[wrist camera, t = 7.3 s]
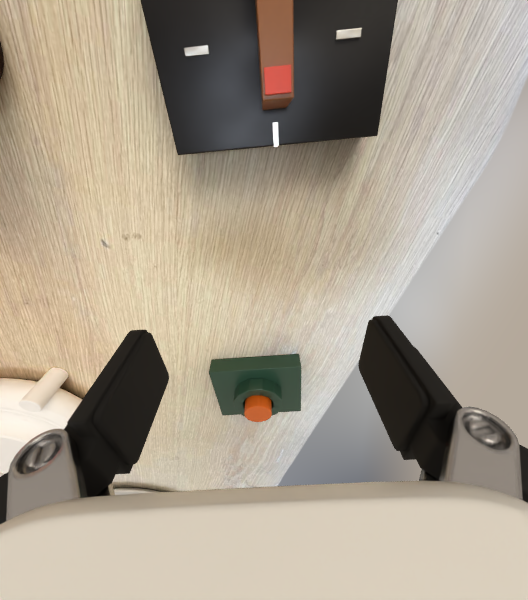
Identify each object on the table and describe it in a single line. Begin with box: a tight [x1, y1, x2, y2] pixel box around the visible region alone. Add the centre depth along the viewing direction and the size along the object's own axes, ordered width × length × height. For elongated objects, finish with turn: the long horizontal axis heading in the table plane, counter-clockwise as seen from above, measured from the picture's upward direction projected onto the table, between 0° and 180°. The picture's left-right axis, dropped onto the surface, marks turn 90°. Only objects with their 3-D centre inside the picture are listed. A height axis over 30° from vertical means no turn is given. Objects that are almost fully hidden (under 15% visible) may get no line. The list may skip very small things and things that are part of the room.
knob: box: [255, 0, 294, 110], centre depth 12 cm, size 6×2×4 cm, turn 5°
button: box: [244, 395, 272, 422], centre depth 31 cm, size 4×4×2 cm
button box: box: [209, 354, 301, 416], centre depth 33 cm, size 12×10×4 cm
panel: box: [141, 0, 398, 155], centre depth 15 cm, size 14×10×3 cm
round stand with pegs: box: [0, 367, 82, 474], centre depth 36 cm, size 24×24×7 cm
